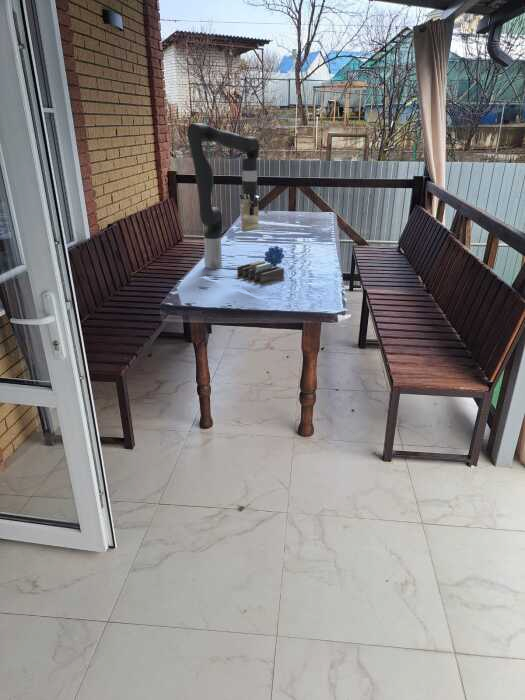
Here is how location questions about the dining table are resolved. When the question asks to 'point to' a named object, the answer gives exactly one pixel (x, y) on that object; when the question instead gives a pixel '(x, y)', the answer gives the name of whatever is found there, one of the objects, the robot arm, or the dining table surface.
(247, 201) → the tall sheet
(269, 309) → the dining table surface
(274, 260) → the grapes
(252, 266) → the offcut oak
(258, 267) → the offcut grey
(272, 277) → the rack
